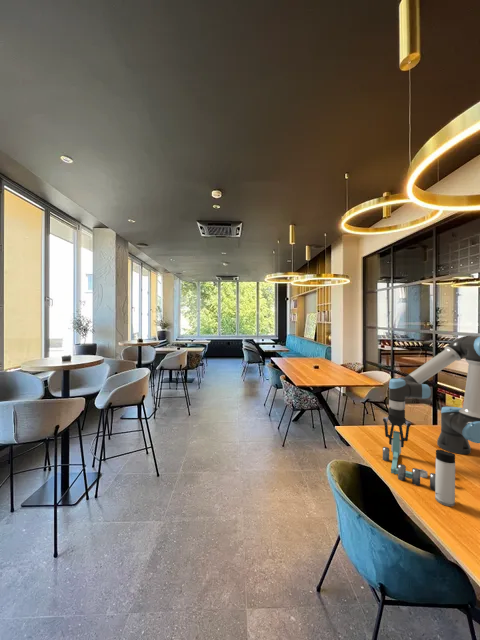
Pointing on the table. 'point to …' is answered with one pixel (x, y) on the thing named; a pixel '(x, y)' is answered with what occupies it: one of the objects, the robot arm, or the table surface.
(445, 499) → the travel mug
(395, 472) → the teal bent bar
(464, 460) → the table surface
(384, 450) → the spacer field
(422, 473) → the hexagonal star block
